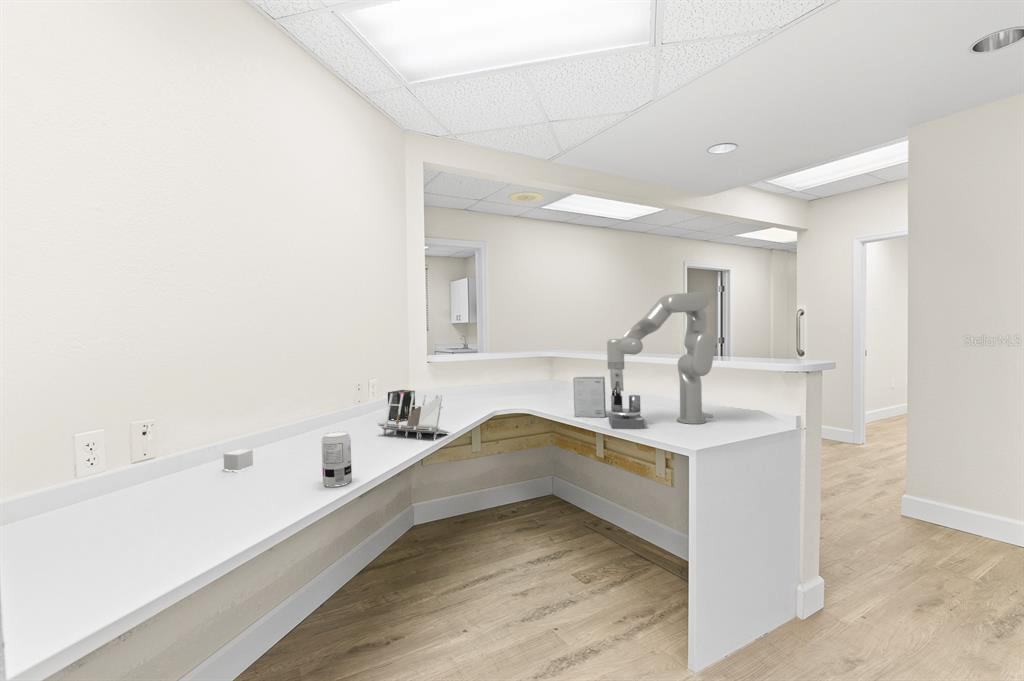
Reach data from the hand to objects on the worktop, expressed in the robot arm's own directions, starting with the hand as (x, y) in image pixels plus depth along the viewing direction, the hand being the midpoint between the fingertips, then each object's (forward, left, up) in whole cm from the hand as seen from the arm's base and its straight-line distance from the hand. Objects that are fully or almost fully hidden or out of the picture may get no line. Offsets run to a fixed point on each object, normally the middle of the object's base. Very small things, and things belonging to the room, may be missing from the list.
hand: (616, 403), depth 207 cm
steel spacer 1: (0, 0, -4) cm, 4 cm away
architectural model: (+89, +21, -11) cm, 92 cm away
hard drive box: (+11, -23, -11) cm, 28 cm away
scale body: (-4, 0, -10) cm, 11 cm away
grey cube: (+134, +70, -11) cm, 152 cm away
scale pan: (-4, 0, -6) cm, 7 cm away
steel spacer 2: (-8, 0, -4) cm, 9 cm away
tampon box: (+108, -15, -11) cm, 110 cm away
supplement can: (+92, +82, -10) cm, 124 cm away
